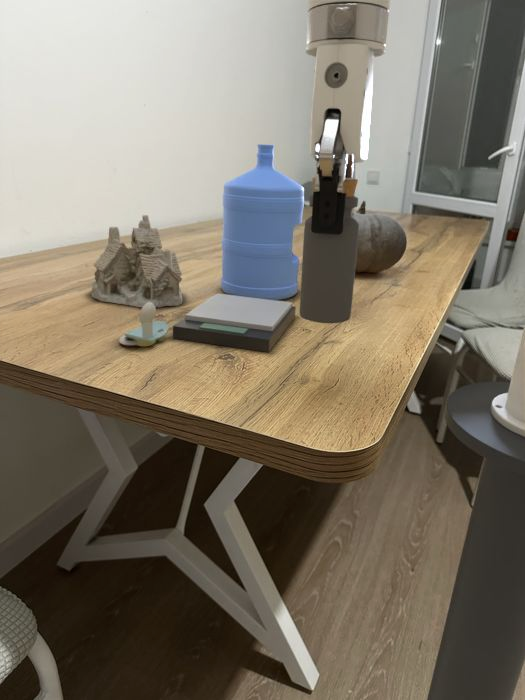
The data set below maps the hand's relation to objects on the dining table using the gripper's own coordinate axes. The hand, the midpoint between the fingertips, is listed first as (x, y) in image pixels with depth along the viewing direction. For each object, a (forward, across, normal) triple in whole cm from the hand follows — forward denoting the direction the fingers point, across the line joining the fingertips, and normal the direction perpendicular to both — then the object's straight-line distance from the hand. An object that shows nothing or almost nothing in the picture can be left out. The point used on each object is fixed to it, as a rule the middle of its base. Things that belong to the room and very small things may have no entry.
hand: (331, 227), depth 56 cm
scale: (+20, +20, +17) cm, 32 cm away
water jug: (+20, +43, +20) cm, 51 cm away
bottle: (+10, 0, 0) cm, 10 cm away
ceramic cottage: (+19, +29, +40) cm, 53 cm away
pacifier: (+20, +8, +28) cm, 35 cm away
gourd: (+20, +75, +4) cm, 78 cm away
